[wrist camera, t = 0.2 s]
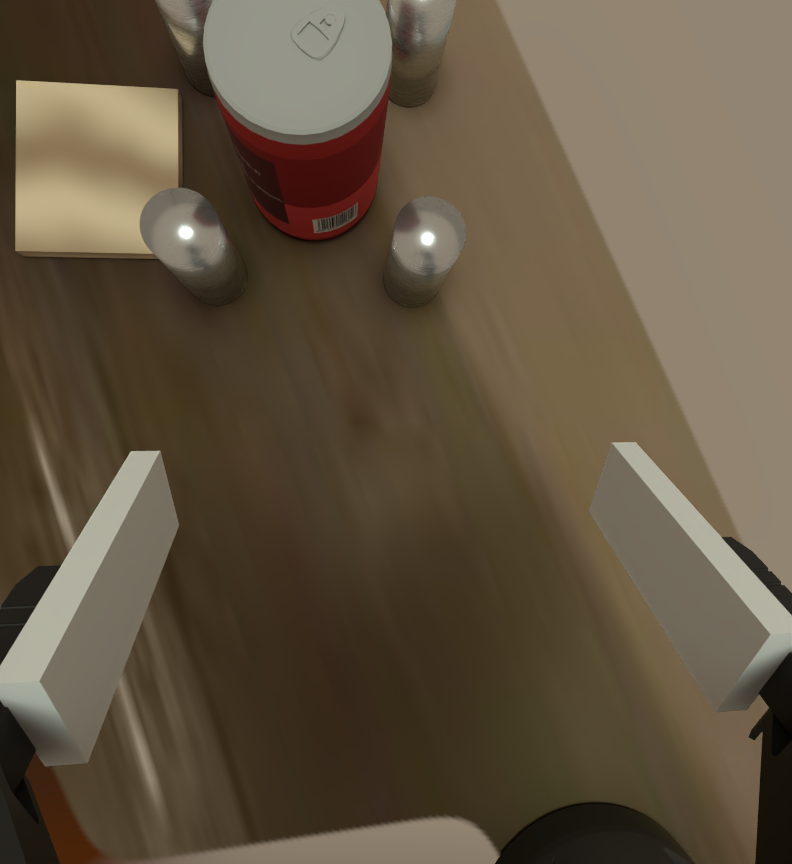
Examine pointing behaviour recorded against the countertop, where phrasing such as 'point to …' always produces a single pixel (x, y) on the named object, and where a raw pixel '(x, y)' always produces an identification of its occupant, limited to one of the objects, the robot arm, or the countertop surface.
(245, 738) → the countertop surface
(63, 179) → the coaster
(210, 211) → the cylinder
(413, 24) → the cylinder
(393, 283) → the cylinder
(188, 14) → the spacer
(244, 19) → the canned food
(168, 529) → the robot arm
